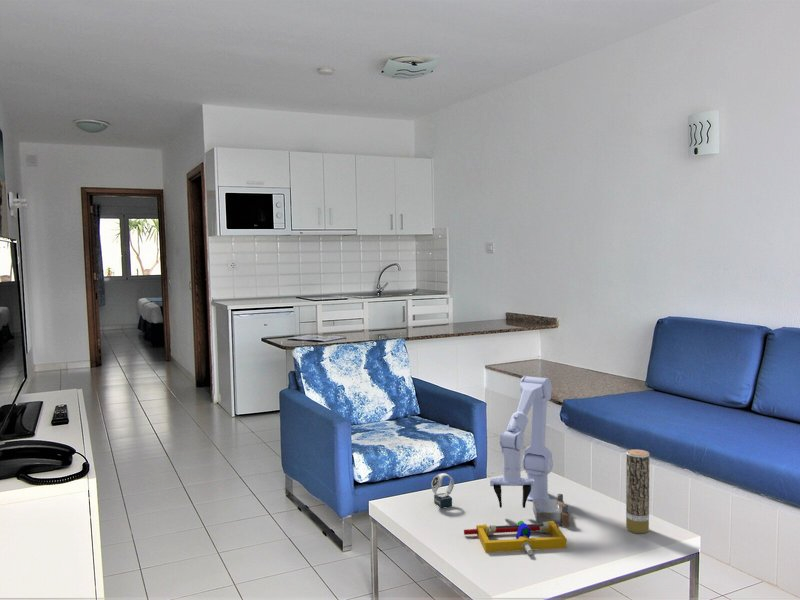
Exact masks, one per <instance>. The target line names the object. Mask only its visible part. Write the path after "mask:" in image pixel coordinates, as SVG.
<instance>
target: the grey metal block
mask: <svg viewBox="0 0 800 600" xmlns="http://www.w3.org/2000/svg"><path fill="white" fill-rule="evenodd" d="M532 511H533V514H534V515H535V516H534V520H535V522H536V523H535V524H541V523H543V522H548V521H554V522H555V525H560V524H561V525H562V523H561V510H560V508H559V505H558V503H557V500H556V498H552V499H551V498H550V499H533V500H532Z"/></svg>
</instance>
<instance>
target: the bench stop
mask: <svg viewBox="0 0 800 600" xmlns="http://www.w3.org/2000/svg"><path fill="white" fill-rule="evenodd" d="M556 496H557V497H555V499H556V500H557V503H558V505H559V508H560V510H561V525H562V527H563V528H567V527H568V528H569V527H570V514H569V508H568V505H567V504H565V501H564V495H563V493H557V495H556Z"/></svg>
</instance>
